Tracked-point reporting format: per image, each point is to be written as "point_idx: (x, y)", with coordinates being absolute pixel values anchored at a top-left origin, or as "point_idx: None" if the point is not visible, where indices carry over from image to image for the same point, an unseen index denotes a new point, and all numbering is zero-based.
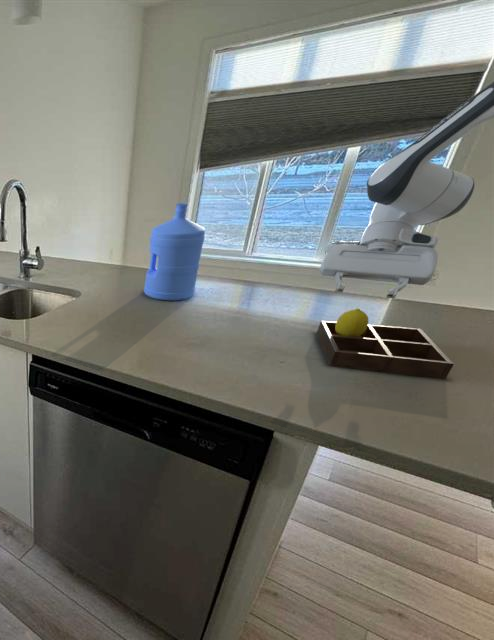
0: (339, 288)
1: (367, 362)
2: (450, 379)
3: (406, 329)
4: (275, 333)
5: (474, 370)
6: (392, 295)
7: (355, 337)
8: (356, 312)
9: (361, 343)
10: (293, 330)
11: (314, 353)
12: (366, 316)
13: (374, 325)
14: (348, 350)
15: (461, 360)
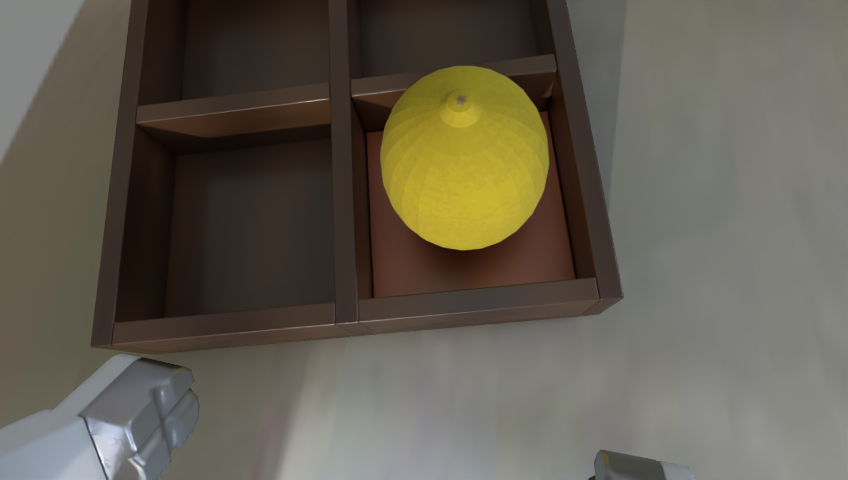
0: (652, 461)
1: None
2: None
3: (164, 320)
4: (816, 230)
5: (55, 113)
6: (151, 359)
7: None
8: (466, 80)
9: None
10: (728, 322)
11: (593, 39)
12: (399, 103)
13: (319, 313)
14: None
15: (52, 197)
